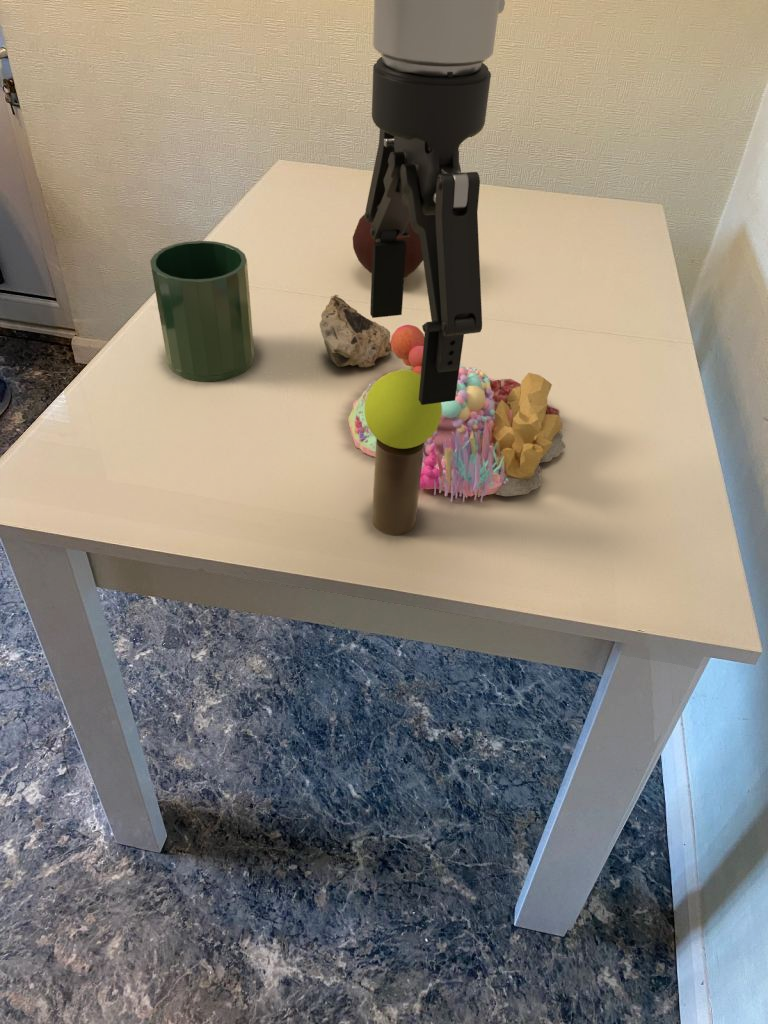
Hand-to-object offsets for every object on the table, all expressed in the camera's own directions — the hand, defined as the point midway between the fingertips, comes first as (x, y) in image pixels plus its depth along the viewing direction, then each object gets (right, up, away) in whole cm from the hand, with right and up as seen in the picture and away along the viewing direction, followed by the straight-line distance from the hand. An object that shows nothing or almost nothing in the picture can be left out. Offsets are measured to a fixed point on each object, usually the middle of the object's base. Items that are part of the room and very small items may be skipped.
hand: (409, 354), depth 61 cm
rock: (-6, +7, +35) cm, 36 cm away
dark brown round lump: (-2, +23, +53) cm, 57 cm away
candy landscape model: (+6, -4, +24) cm, 25 cm away
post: (-1, -14, +13) cm, 19 cm away
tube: (-24, +7, +33) cm, 41 cm away
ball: (0, -4, +4) cm, 6 cm away
